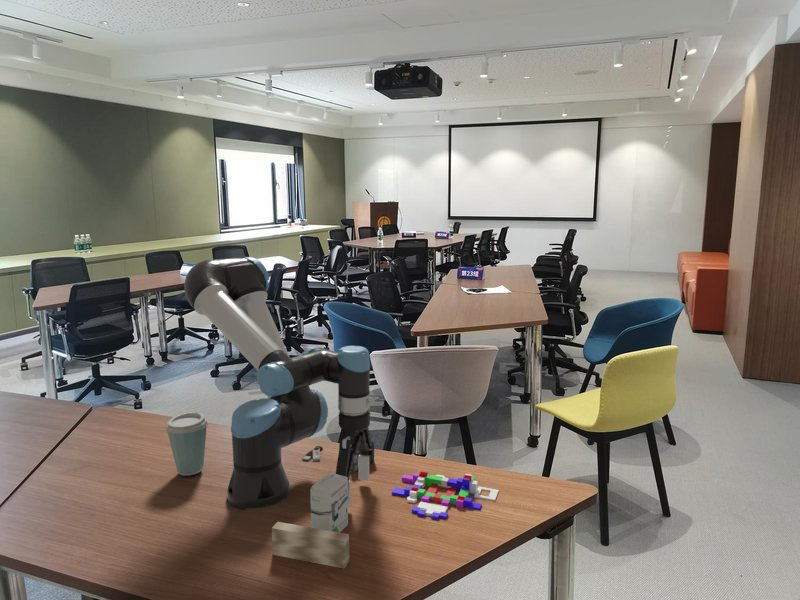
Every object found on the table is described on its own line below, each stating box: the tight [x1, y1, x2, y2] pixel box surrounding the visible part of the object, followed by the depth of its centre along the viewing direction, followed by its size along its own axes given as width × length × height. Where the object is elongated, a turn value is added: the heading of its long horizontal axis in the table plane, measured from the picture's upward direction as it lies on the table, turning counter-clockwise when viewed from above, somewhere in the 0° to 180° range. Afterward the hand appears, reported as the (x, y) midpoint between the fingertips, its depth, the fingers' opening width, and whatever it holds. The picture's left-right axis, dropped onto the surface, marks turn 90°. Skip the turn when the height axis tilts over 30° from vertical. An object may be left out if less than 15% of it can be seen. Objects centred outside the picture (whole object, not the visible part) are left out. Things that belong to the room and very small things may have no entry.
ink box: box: [309, 472, 349, 533], centre depth 125 cm, size 9×5×12 cm, turn 156°
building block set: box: [391, 471, 499, 520], centre depth 141 cm, size 25×20×4 cm
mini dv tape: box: [351, 440, 375, 473], centre depth 157 cm, size 8×2×6 cm, turn 139°
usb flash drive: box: [301, 445, 324, 462], centre depth 164 cm, size 9×5×1 cm, turn 159°
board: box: [271, 521, 350, 569], centre depth 116 cm, size 16×2×6 cm, turn 74°
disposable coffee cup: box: [165, 411, 208, 477], centre depth 153 cm, size 11×11×15 cm
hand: (354, 492), depth 141 cm, fingers open, 13 cm apart
